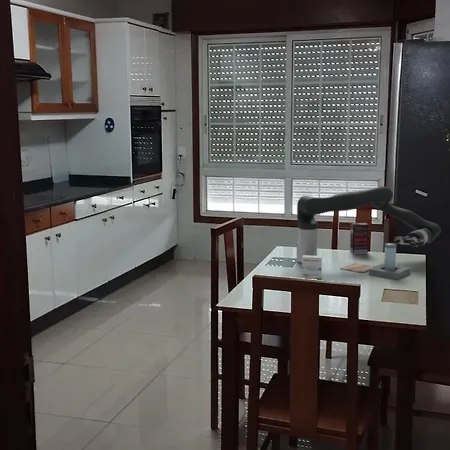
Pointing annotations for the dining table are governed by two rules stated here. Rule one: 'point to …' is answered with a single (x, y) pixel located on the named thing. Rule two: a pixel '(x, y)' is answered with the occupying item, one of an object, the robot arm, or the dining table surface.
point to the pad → (357, 267)
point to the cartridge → (390, 256)
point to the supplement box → (359, 238)
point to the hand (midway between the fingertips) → (402, 243)
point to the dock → (389, 272)
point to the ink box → (312, 267)
